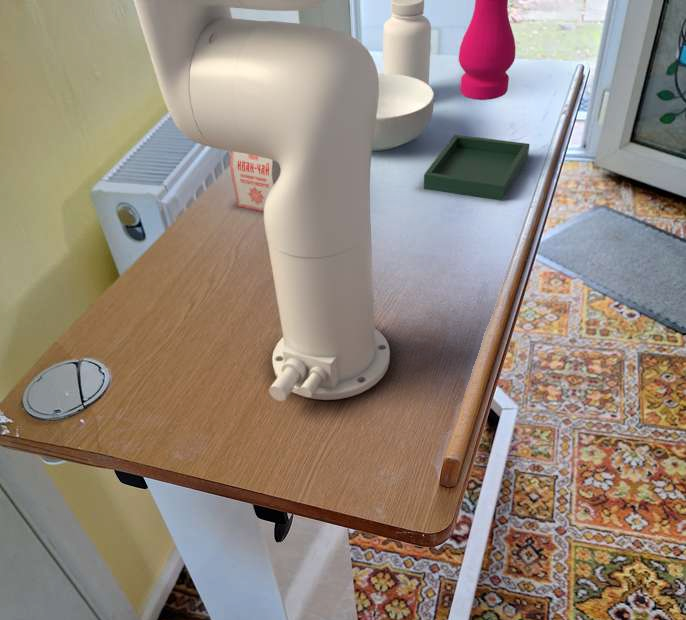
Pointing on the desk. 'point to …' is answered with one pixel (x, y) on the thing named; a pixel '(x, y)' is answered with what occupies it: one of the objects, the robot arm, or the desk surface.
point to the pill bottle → (407, 40)
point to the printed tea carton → (253, 179)
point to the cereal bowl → (401, 110)
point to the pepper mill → (487, 51)
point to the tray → (477, 167)
